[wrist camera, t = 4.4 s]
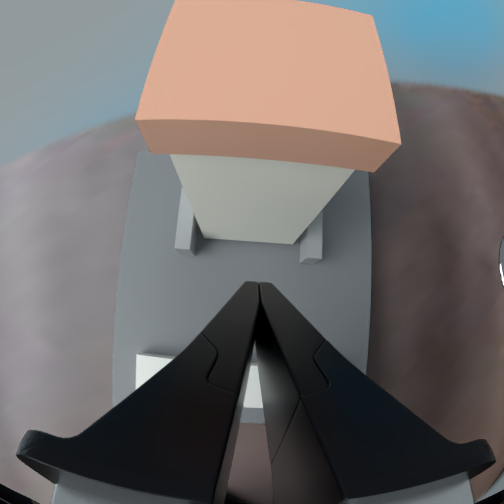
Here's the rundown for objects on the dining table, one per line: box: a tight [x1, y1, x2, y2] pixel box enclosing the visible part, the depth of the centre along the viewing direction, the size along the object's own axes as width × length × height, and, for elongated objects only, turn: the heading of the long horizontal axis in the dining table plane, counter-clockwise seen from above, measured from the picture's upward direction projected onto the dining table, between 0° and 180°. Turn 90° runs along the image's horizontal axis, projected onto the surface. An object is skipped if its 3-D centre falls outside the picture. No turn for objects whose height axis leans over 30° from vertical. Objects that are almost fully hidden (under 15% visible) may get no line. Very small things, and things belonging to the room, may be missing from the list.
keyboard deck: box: [112, 151, 371, 424], centre depth 18 cm, size 16×15×3 cm
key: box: [135, 0, 401, 244], centre depth 13 cm, size 5×6×12 cm
